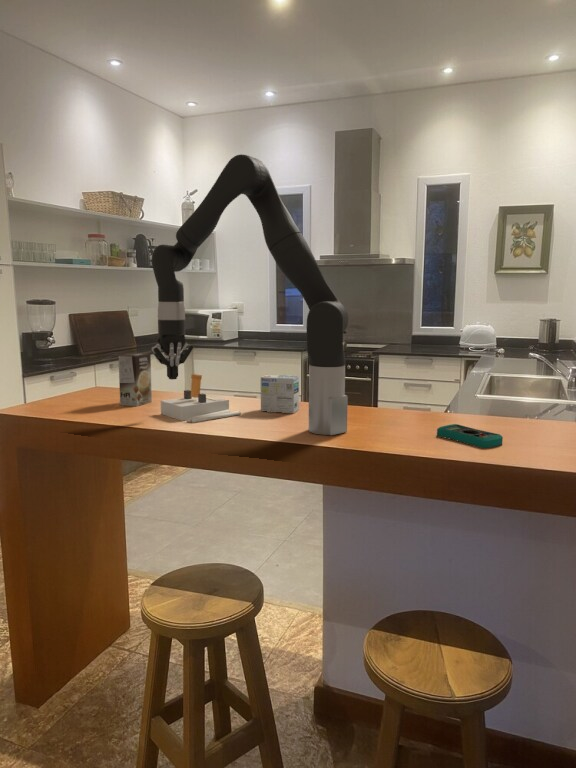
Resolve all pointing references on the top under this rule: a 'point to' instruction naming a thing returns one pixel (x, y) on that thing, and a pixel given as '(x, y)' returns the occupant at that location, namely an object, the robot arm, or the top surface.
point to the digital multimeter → (470, 435)
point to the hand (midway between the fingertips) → (172, 379)
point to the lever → (195, 385)
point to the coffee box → (135, 379)
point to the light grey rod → (216, 416)
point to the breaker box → (193, 406)
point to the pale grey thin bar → (208, 415)
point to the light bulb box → (280, 393)
